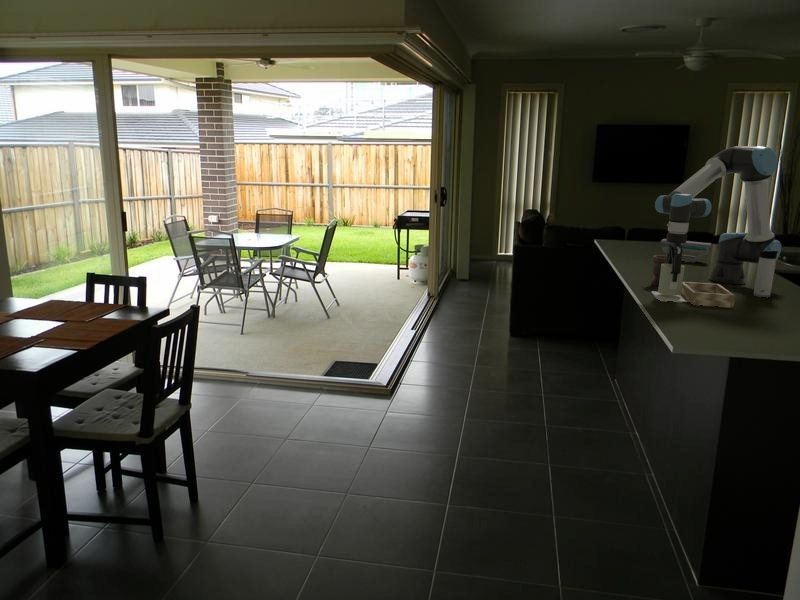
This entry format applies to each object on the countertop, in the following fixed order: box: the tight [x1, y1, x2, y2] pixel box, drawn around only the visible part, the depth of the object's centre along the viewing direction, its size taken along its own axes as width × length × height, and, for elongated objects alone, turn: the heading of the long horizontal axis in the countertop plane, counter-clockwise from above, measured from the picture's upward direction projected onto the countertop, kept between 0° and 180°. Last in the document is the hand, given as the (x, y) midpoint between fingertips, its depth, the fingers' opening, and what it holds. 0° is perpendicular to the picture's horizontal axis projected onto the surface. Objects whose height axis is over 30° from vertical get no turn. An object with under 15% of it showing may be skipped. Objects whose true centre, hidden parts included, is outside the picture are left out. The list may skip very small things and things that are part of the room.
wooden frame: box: [681, 281, 736, 309], centre depth 266 cm, size 15×22×5 cm
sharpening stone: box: [660, 238, 713, 263], centre depth 362 cm, size 25×8×11 cm, turn 57°
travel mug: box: [753, 251, 778, 299], centre depth 275 cm, size 6×7×20 cm
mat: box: [651, 290, 689, 303], centre depth 269 cm, size 11×16×1 cm
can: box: [657, 264, 686, 295], centre depth 267 cm, size 9×9×12 cm
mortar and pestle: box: [650, 244, 683, 287], centre depth 291 cm, size 12×9×20 cm
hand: (670, 287), depth 268 cm, fingers closed on can, 9 cm apart
